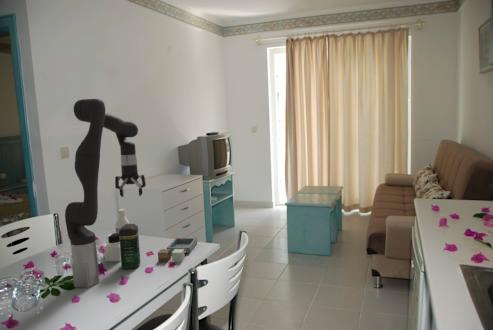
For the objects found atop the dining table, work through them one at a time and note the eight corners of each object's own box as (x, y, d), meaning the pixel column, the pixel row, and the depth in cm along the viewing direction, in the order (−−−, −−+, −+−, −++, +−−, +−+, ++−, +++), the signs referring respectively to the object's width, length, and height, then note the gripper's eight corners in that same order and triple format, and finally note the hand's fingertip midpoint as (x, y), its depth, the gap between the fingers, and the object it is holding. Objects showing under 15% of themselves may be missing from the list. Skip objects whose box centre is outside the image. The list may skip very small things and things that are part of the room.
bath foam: (123, 245, 205) (120, 207, 202) (134, 246, 202) (131, 208, 200) (114, 250, 198) (111, 211, 196) (126, 251, 196) (122, 211, 193)
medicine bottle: (126, 256, 189) (124, 231, 188) (120, 261, 182) (118, 236, 181) (112, 256, 190) (109, 231, 188) (105, 261, 183) (103, 236, 181)
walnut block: (168, 262, 180) (167, 252, 179) (158, 262, 180) (157, 252, 180) (171, 258, 184) (170, 249, 183) (161, 258, 185) (161, 249, 184)
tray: (189, 254, 188) (189, 248, 188) (166, 254, 190) (166, 248, 189) (197, 243, 203) (196, 237, 203) (176, 243, 204) (175, 237, 204)
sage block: (182, 262, 179) (181, 252, 178) (172, 262, 179) (171, 252, 179) (184, 258, 183) (184, 249, 183) (175, 258, 184) (174, 249, 183)
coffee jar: (138, 269, 173) (135, 227, 170) (120, 270, 172) (116, 229, 169) (142, 261, 182) (139, 221, 180) (124, 262, 181) (121, 222, 179)
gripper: (112, 165, 191) (115, 198, 193) (142, 163, 192) (145, 196, 194) (115, 163, 198) (118, 195, 200) (144, 162, 200) (147, 193, 202)
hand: (131, 196), depth 197 cm, fingers open, 8 cm apart
